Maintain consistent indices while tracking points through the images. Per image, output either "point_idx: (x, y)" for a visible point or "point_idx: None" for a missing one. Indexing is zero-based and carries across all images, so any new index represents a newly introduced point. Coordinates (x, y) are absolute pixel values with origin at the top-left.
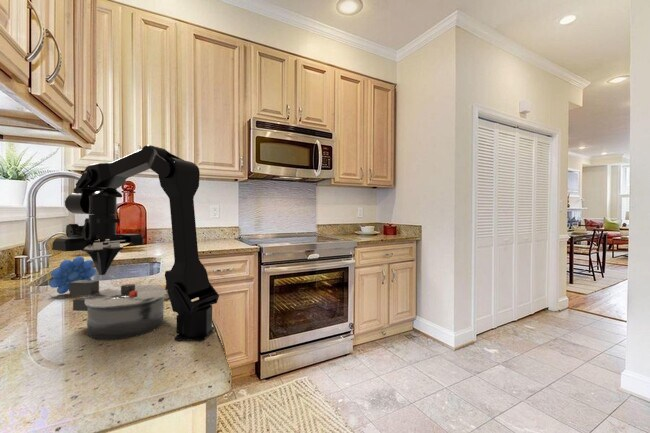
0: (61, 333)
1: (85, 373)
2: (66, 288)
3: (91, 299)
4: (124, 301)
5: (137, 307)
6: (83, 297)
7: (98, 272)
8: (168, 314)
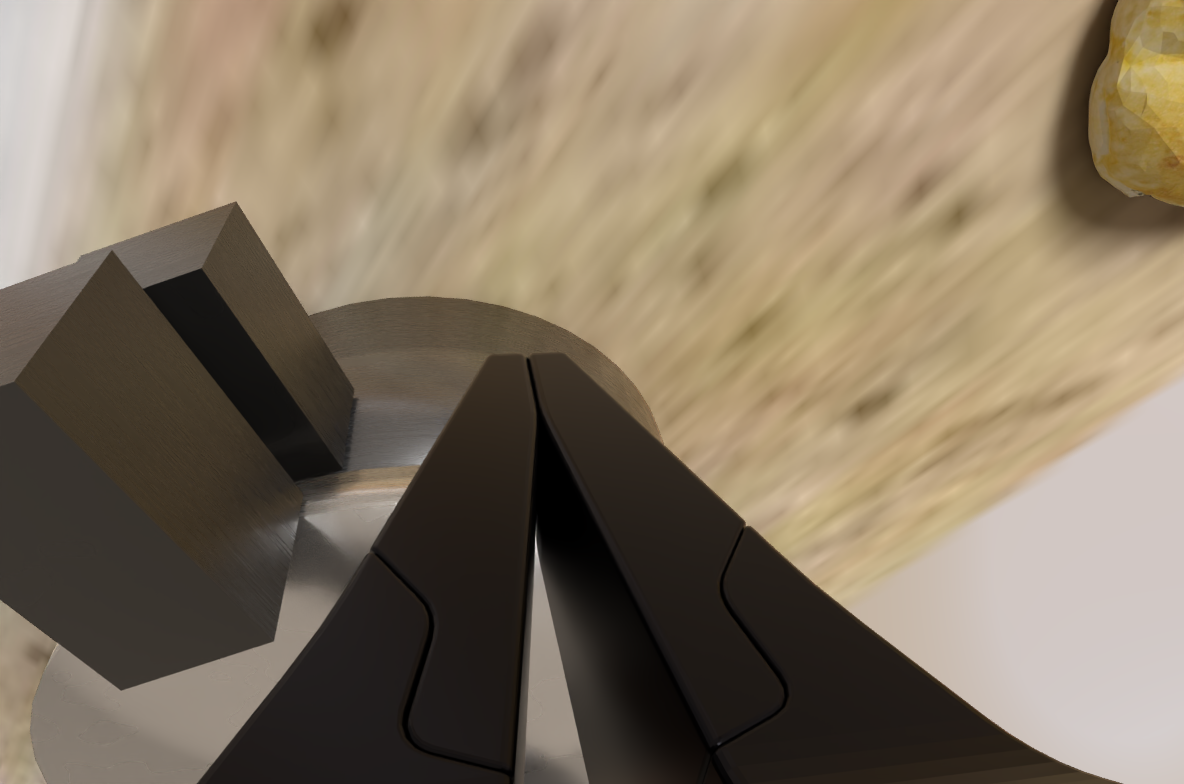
0: (27, 231)
1: (17, 777)
2: None
3: (87, 734)
4: None
5: None
6: (171, 325)
7: (475, 385)
8: None
